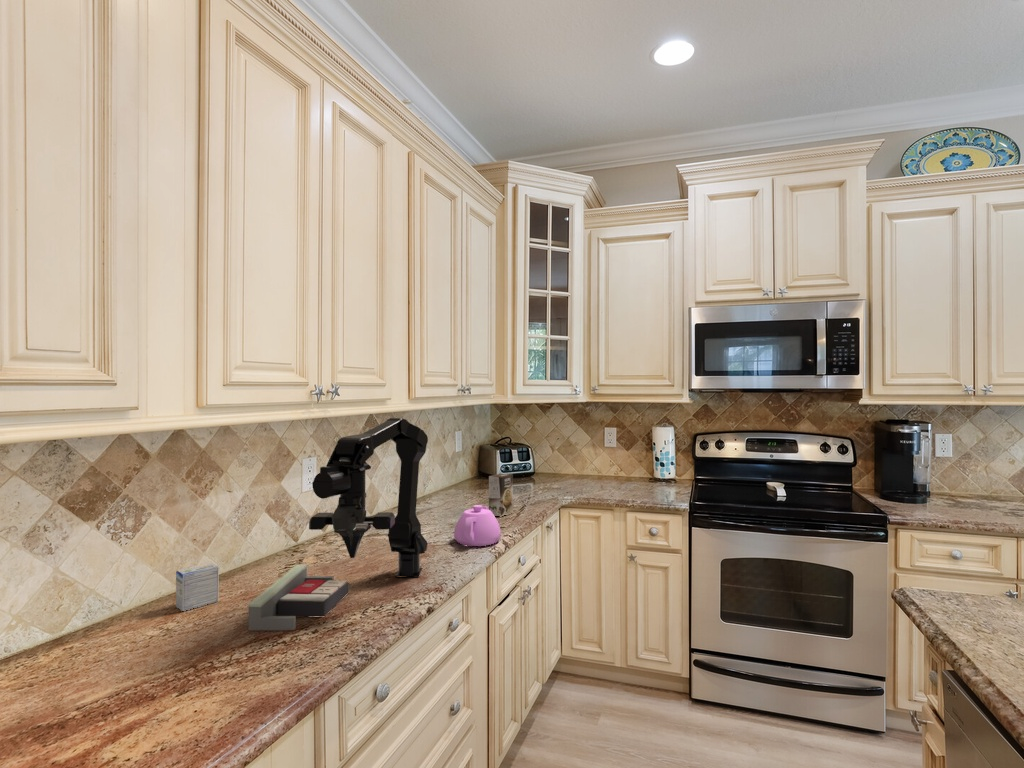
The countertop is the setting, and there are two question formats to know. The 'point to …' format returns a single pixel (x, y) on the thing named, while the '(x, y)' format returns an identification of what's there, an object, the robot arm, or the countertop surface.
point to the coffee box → (501, 494)
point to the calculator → (312, 598)
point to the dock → (266, 602)
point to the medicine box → (197, 586)
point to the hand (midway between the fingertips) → (352, 557)
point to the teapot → (477, 527)
